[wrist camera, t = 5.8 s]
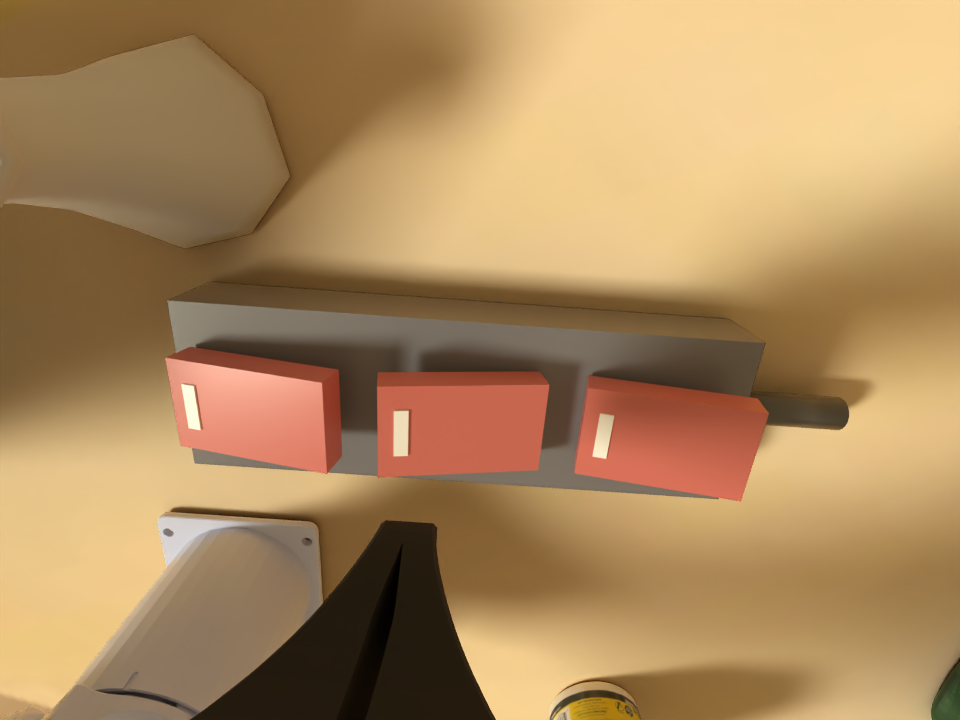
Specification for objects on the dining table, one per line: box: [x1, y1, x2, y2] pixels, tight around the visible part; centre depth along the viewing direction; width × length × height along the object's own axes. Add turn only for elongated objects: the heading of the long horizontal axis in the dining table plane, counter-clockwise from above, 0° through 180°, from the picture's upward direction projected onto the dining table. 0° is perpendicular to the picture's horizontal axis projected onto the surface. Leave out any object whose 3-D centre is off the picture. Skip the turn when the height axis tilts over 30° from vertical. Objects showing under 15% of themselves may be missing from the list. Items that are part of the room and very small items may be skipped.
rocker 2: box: [377, 371, 549, 477], centre depth 18 cm, size 4×6×1 cm, turn 86°
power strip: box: [167, 282, 849, 499], centre depth 21 cm, size 7×27×3 cm, turn 86°
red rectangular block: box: [574, 375, 769, 501], centre depth 18 cm, size 4×6×1 cm, turn 86°
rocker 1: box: [165, 347, 342, 474], centre depth 18 cm, size 4×6×1 cm, turn 86°
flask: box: [0, 34, 290, 248], centre depth 15 cm, size 7×7×10 cm
